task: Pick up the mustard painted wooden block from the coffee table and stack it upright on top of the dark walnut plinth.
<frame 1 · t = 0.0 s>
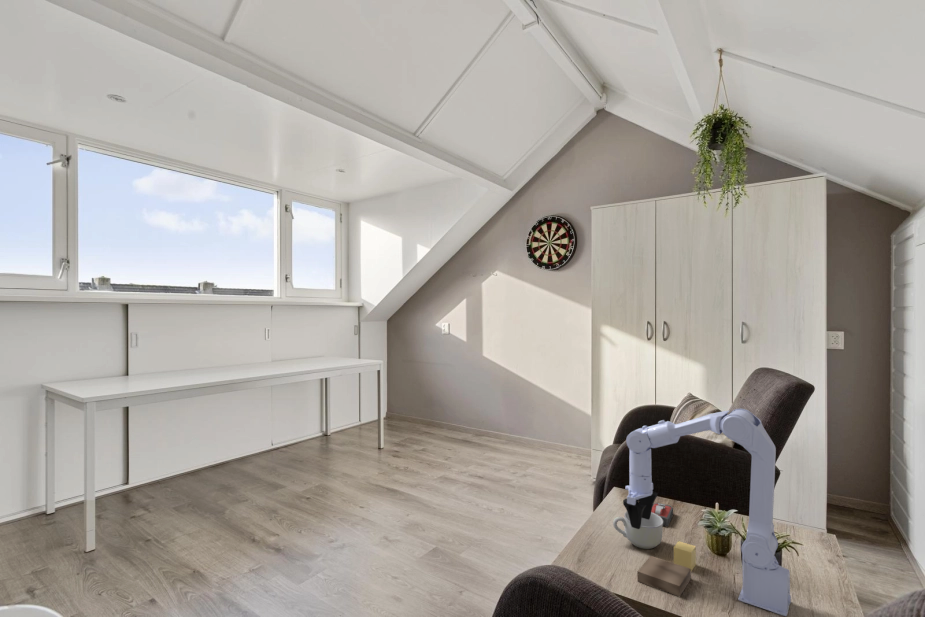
hand: (640, 523, 129), 10 cm above the table, tool pointing down, fingers open, 7 cm apart
mustard block: (684, 565, 126), on the table
teacup: (637, 544, 138), on the table
walnut plinth: (664, 579, 119), on the table
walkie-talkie: (655, 522, 153), on the table
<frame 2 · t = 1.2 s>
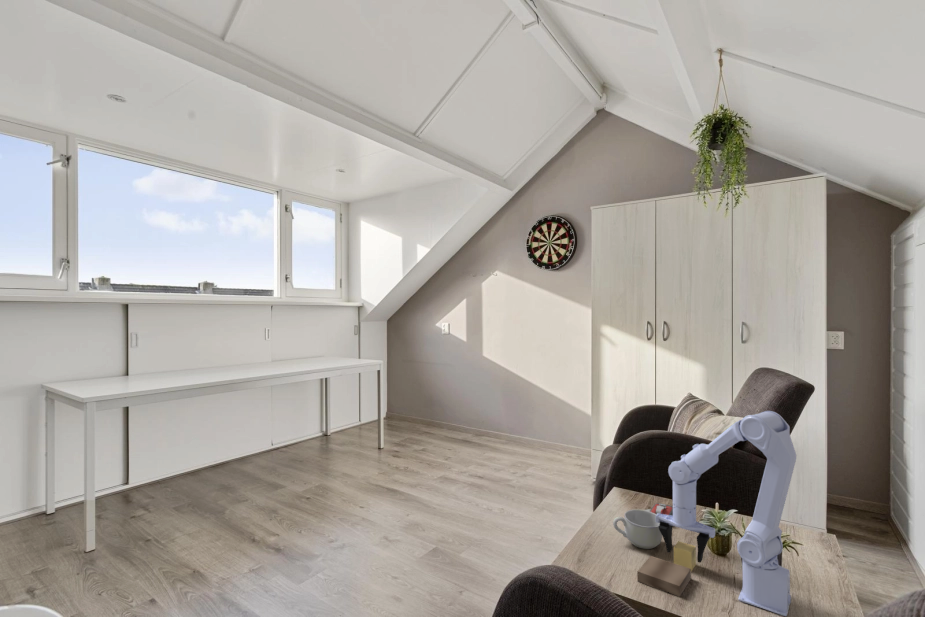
hand: (684, 555, 126), 2 cm above the table, tool pointing down, fingers open, 7 cm apart
nothing on the table moved.
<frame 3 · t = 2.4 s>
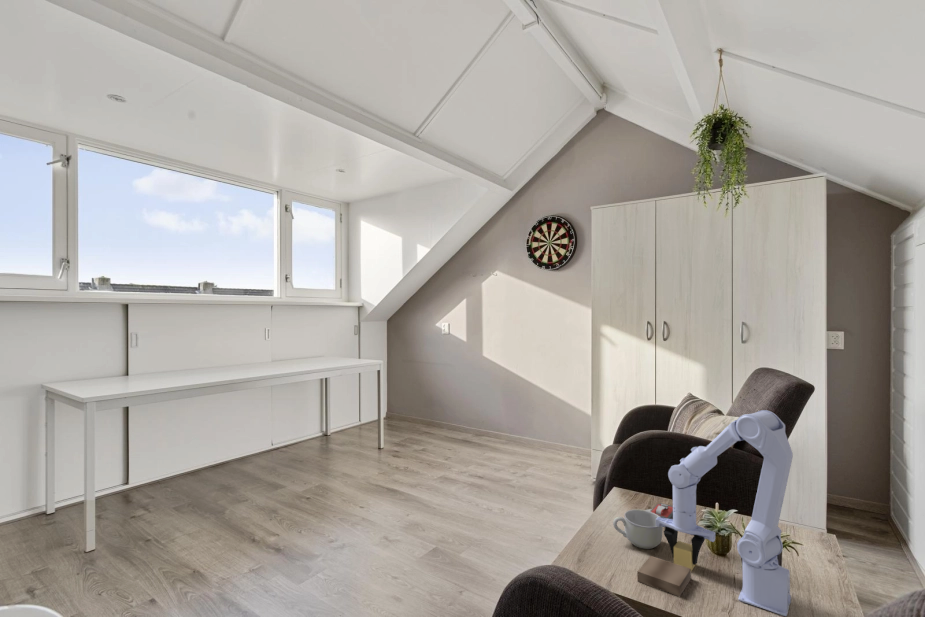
hand: (684, 559, 126), 1 cm above the table, tool pointing down, fingers closed on mustard block, 4 cm apart
mustard block: (684, 565, 126), on the table, touching gripper
everything else where it was.
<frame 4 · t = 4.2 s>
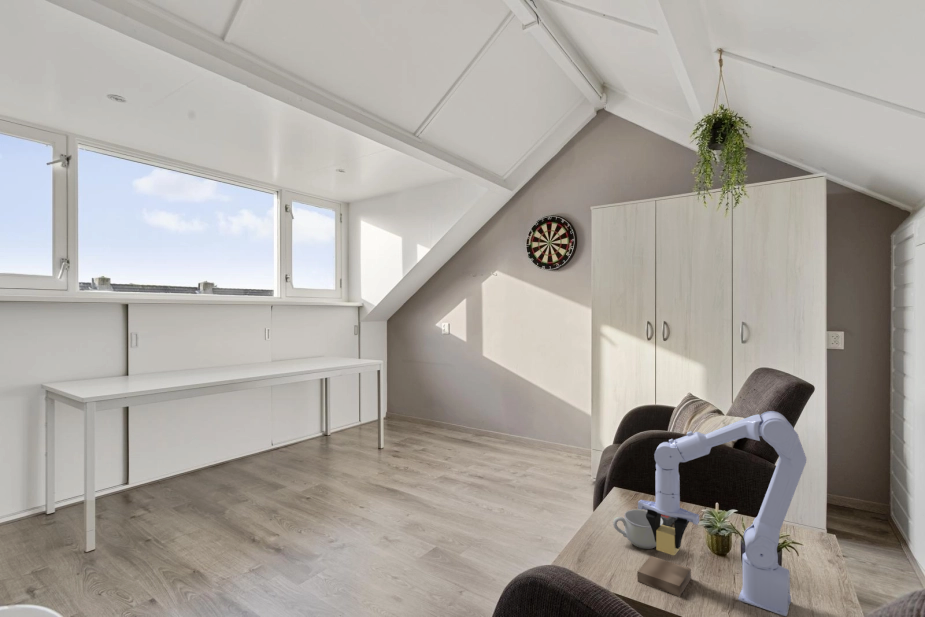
hand: (667, 543, 120), 8 cm above the table, tool pointing down, fingers closed on mustard block, 4 cm apart
mustard block: (668, 549, 120), point 7 cm above the table, touching gripper
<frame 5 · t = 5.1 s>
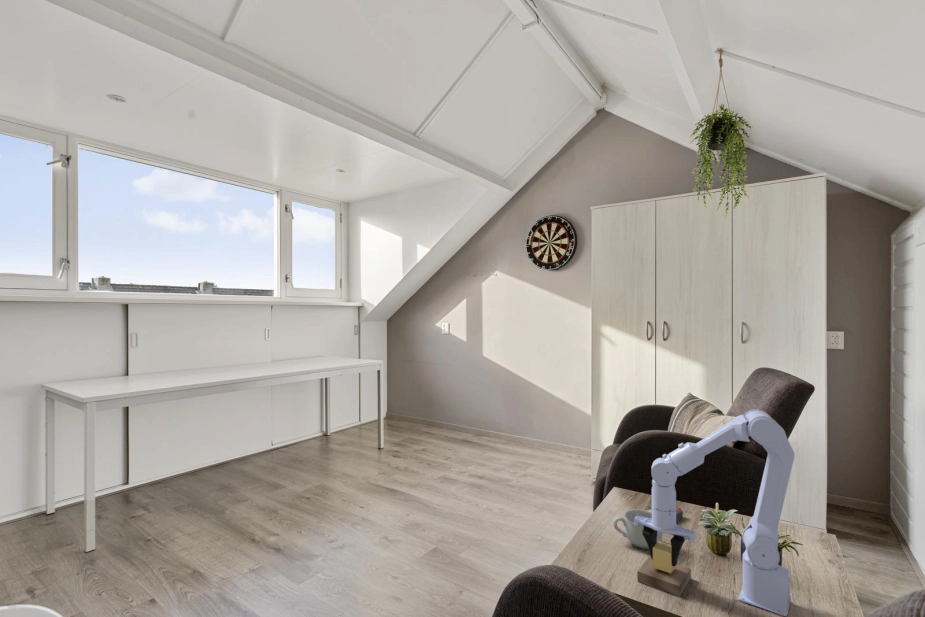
hand: (664, 561, 119), 5 cm above the table, tool pointing down, fingers closed on mustard block, 4 cm apart
mustard block: (664, 566, 119), point 3 cm above the table, touching gripper
when the fingers open (5 cm above the table, at t = 5.9 s): mustard block stays where it is, resting on walnut plinth.
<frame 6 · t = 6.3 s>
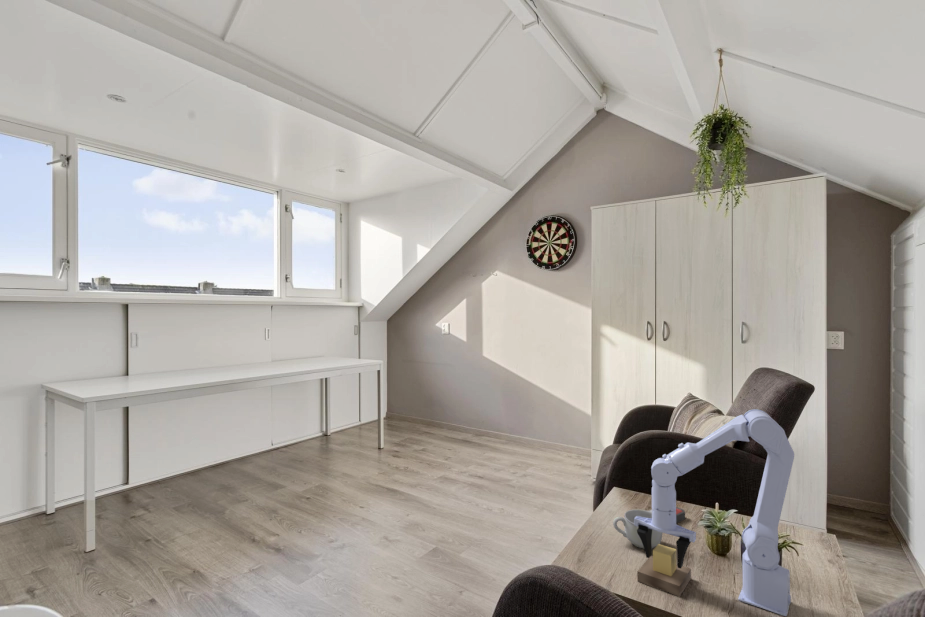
hand: (664, 561, 119), 5 cm above the table, tool pointing down, fingers open, 7 cm apart
mustard block: (664, 569, 119), point 2 cm above the table, touching walnut plinth
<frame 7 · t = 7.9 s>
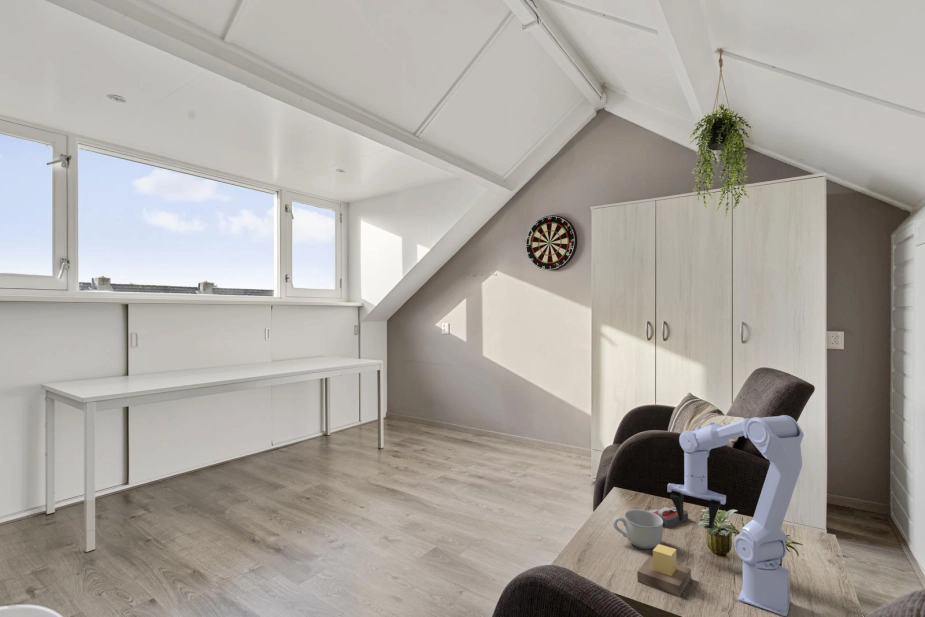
hand: (695, 523, 130), 9 cm above the table, tool pointing down, fingers open, 7 cm apart
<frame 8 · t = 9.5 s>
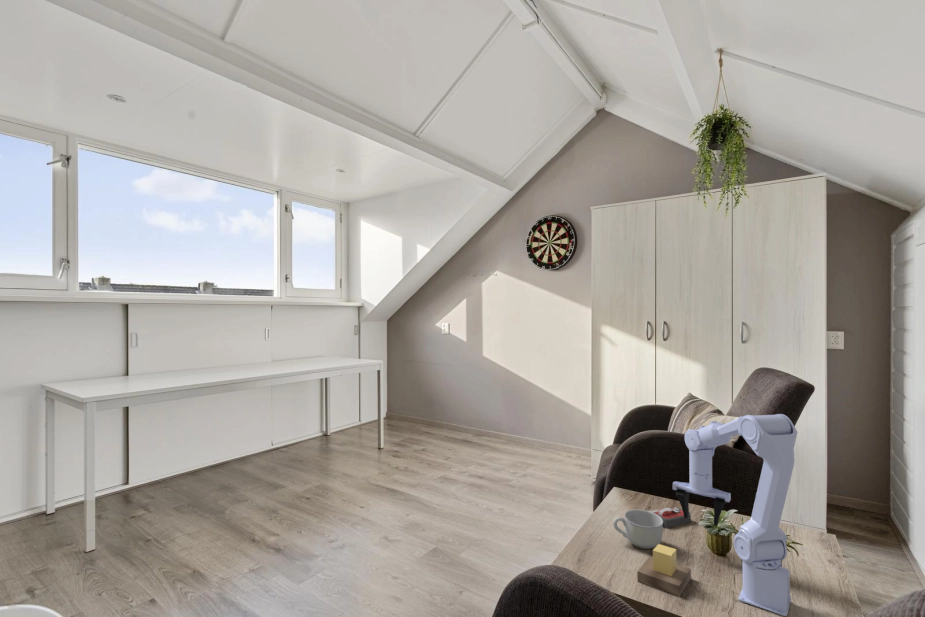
hand: (701, 520, 132), 9 cm above the table, tool pointing down, fingers open, 7 cm apart
at the end: mustard block 0.3 cm off-centre on the walnut plinth, point 2.5 cm above the walnut plinth's base; mustard block tilted 0°; the gripper is holding nothing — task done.
